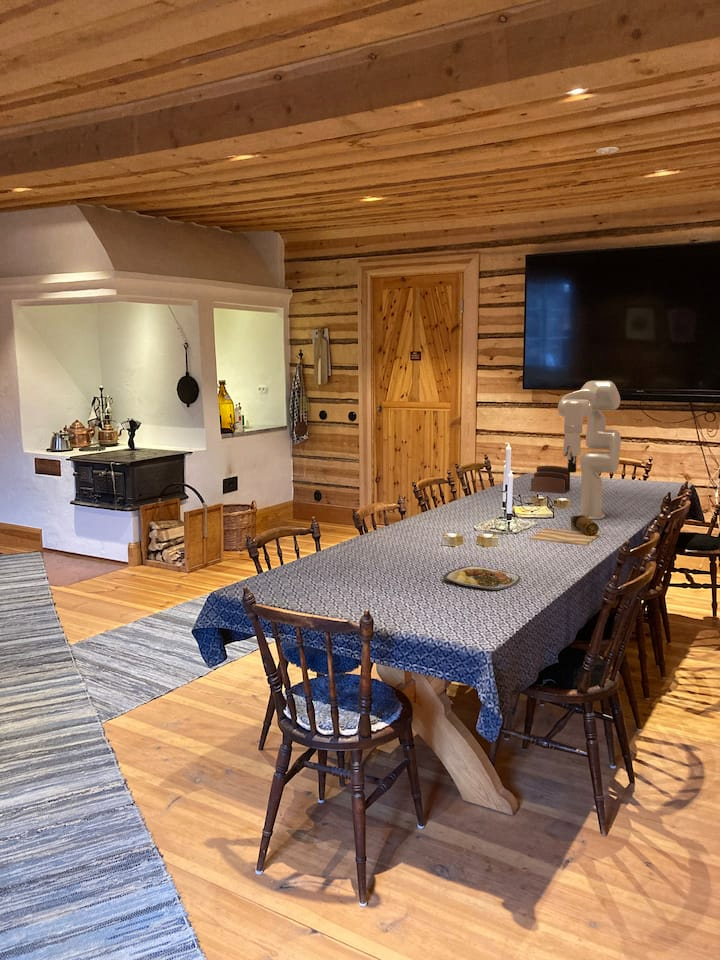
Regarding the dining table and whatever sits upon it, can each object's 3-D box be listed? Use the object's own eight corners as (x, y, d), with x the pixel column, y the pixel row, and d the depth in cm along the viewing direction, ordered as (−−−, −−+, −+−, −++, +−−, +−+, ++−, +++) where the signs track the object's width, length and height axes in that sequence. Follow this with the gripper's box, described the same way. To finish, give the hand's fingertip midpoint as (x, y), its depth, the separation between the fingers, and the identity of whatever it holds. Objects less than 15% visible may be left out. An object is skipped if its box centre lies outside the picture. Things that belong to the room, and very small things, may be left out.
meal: (498, 596, 256) (498, 589, 255) (433, 582, 271) (433, 575, 270) (531, 578, 275) (531, 571, 275) (469, 566, 290) (469, 559, 290)
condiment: (589, 530, 342) (600, 536, 330) (570, 532, 341) (581, 538, 329) (588, 514, 340) (600, 519, 329) (570, 516, 339) (581, 521, 328)
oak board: (545, 529, 346) (545, 528, 346) (599, 535, 333) (599, 533, 333) (529, 539, 329) (529, 537, 329) (586, 545, 317) (586, 543, 317)
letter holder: (536, 488, 452) (537, 464, 449) (570, 491, 441) (570, 466, 439) (530, 491, 443) (531, 466, 441) (564, 494, 433) (565, 469, 431)
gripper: (569, 428, 339) (568, 469, 341) (558, 430, 326) (557, 473, 329) (586, 428, 335) (585, 470, 337) (576, 431, 322) (575, 475, 325)
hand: (571, 472), depth 333 cm, fingers closed
